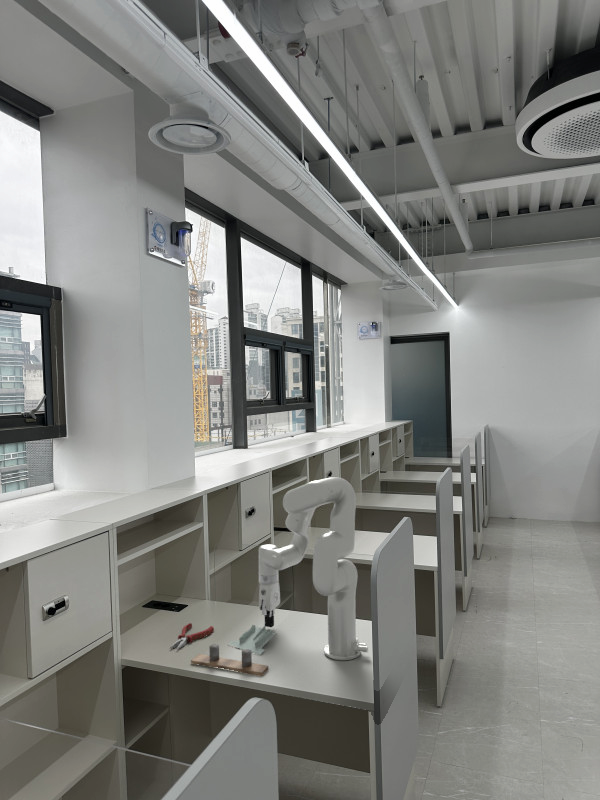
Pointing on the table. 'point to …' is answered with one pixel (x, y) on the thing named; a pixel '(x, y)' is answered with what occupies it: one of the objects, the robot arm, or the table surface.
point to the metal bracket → (254, 639)
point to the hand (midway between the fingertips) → (269, 626)
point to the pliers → (190, 636)
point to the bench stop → (231, 662)
